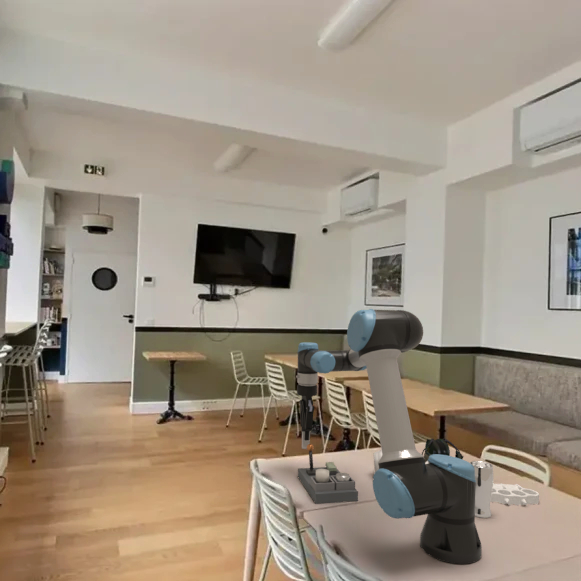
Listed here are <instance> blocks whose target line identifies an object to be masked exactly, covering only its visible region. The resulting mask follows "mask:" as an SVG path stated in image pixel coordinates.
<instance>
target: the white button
mask: <svg viewBox="0 0 581 581" xmlns="http://www.w3.org/2000/svg"><path fill="white" fill-rule="evenodd" d="M316 481H317V482H319V483H327V482H329V470H327V469H317V470H316Z"/></svg>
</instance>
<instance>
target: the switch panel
mask: <svg viewBox="0 0 581 581" xmlns="http://www.w3.org/2000/svg"><path fill="white" fill-rule="evenodd" d="M317 469H327V467H326V466H321V467H313V471H311V470H310V467H302V468H300V467H299V468H297V478H298V477H299V478H298V480H299V481H300V480H301V481H300V482H301V484H302V485H303V487H304V488H305V490H306V492H307V493H308V494H309V496H310V498H311V499H312V500H313V503H314V504H317V505H318V504H333V503H334V504H335V502H336V503H344V502H343V501H351V502H358V501H359V491H358V490H357V489H356V480H355V479H354V478H352V477H351V476H350V479H349V481H348V482H337V481H336V474H337V473H341V471H339V469H338V468H337V471H329V482H327V483H319V482H317V481H316V470H317ZM327 470H328V469H327Z"/></svg>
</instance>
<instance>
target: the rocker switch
mask: <svg viewBox="0 0 581 581" xmlns="http://www.w3.org/2000/svg"><path fill="white" fill-rule="evenodd" d="M324 467H327V469H328V470H329V471H337V469H338V468H337V466H336V464H335V463H334V461H331V462H330V461H329V462H328V461H326V462H325V465H324Z"/></svg>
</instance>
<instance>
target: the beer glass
mask: <svg viewBox="0 0 581 581" xmlns="http://www.w3.org/2000/svg"><path fill="white" fill-rule="evenodd" d="M469 463H470V464H472V465H473V467H474V469H475V480H476V485H475V518H481V519H488V518H491V517H492V510H491V503H490V500H491V494H492V489H493V484H494V465H493V464H492V463H489V462H487V461H482V460H472V461H470V462H469Z"/></svg>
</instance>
